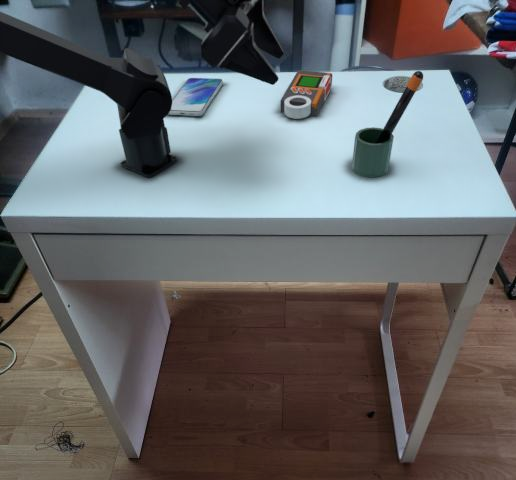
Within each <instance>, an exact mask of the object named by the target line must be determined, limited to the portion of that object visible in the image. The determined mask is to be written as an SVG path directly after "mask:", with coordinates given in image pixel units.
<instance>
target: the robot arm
mask: <svg viewBox="0 0 516 480" xmlns="http://www.w3.org/2000/svg"><path fill="white" fill-rule="evenodd" d="M178 4H179V5H180V6H181V8H182V9H184V10H186V8H188V7H189V8H190V9H191V10H192V11H193V12H194V13H195V14H196V15H197V16H198V17H199V19H200V20H201V21H202V22H203V23H205V26H204V28H203V30H204V31H205V32H206V35H205V36H204V38H203V40H202V42H201V44H200V55H201V58H202V59H203V60H204V61H205V62H206V63H207V64H208V66H209V67H211V68H212V69H213V70H214V69H215V68H216V67H218V68H219V69H220V70H224V69H225V70H229V71H231V72H235V73H238V74H241V75H244V76H247V77H250V78H253V79H256V80H258V81H261V82H263V83H266V84H269V85H272V86H273V85H276V83H277V82H278V81H279V80H280V79H279V76H278V74H277V73H276V71H275V70H274V68H273V66H272V65H271V63H270V62H269V61H268V60H267V58H266V56H265V55H264V53H263V52H265V53H266V54H268V55H270V56H272V57H274V58H276V59H281V58H282V57H283V56H284V54H285V52H284V50H283V47H282V46H281V43H280V41H279V39H278V38H277V36H276V35H275V33H274V31H273V29H272V27H271V25H270V22H269V21H268V19H267V17H266V15H265V11H264V9H265V7H264V6H265V0H179V1H178ZM262 51H263V52H262ZM0 54H2V55H5V56H8V57H10V58H12V59H15V60H18V61H20V62H24V63H25V64H29V65H30V66H33V67H36V68H38V69H41V70H44V71H47V72H49V73H52V74H54V75H57V76H59V77H61V78H65V79H66V80H67V79H68V80H69V81H73V82H74V83H77V84H80V85H83V86H85V87H88V88H90V89H93V90H95V91H98V92H100V93H102V94H104V95H105V96H107V97H108V98H109V99H110V100H111V101H113V102H114V103H115V104H116V106H117V107H116V108H117V113H118V119H119V126H120V128H119V129H118V132H119V133H118V134H119V137H120V141H121V144H122V149H123V153H124V157H125V159H124V160H122V161H121V162H120V166H121V167H122V168H124V169H126V170H129V171H131V172H133V173H136V174H138V175H141V176H143V177H146V178H151V177H154V176H155V175H157V174H159V173H160V172H161V171H163V170H165V169H166V168H168V167H170V166H172V165H174V164H175V163H176V162H178V157H177V156H176V155H173V154H171V145H170V140H169V134H168V128H167V127H166V125H165V120H164V119H165V118H166V117H167V116H169V112H170V110H171V107H172V99H173V95H172V92H171V90H170V89H171V88H170V87H169V84H168V81H167V79H166V76H165V74H164V72H163V70H162V69H161V68H160V67H158V66H157V65H156V64H155V61H154V59H153V58H152V57H144V56H141V55H139V54H137V53H136V52H134V50H131V49H129V48H127V47H125V48H124V52H123V57H112V56H111V57H110V56H106V55H104V54H102V53H100V52H97V51H95V50H92V49H90V48H88V47H86V46H82V45H80V44H79V43H76V42H73V41H71V40H69V39H67V38H64V37H61V36H59V35H57V34H54V33H53V32H50V31H48V30H45V29H42V28H40V27H38V26H35V25H33V24H31V23H29V22H26V21H25V20H22V19H19V18H16V17H14V16H12V15H10V14H6V13H5V12H2V11H0Z"/></svg>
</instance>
